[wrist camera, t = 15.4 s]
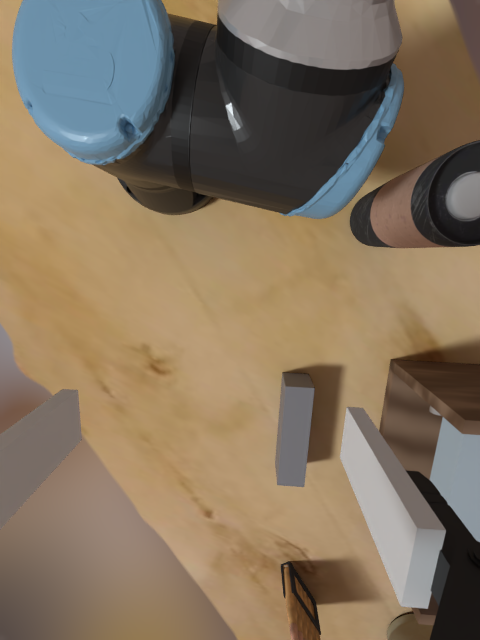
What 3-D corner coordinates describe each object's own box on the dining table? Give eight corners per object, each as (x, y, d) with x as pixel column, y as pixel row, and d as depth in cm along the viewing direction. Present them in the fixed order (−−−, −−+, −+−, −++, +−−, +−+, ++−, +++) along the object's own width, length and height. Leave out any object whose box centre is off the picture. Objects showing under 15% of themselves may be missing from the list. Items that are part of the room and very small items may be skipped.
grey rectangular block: (282, 372, 48) (285, 386, 43) (308, 374, 48) (314, 388, 43) (275, 462, 52) (277, 485, 47) (299, 464, 51) (304, 487, 47)
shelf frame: (390, 359, 47) (465, 420, 30) (486, 365, 46) (615, 429, 30) (367, 506, 53) (418, 624, 36) (451, 512, 52) (543, 634, 36)
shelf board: (446, 401, 39) (467, 418, 35) (503, 404, 39) (531, 422, 35) (415, 545, 44) (431, 574, 40) (466, 548, 43) (487, 578, 40)
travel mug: (358, 257, 44) (442, 264, 24) (339, 205, 42) (411, 167, 23) (412, 233, 43) (544, 221, 23) (394, 179, 41) (518, 117, 22)
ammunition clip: (280, 564, 56) (287, 647, 45) (289, 560, 56) (298, 643, 44) (307, 605, 58) (320, 695, 46) (316, 602, 58) (331, 691, 46)
